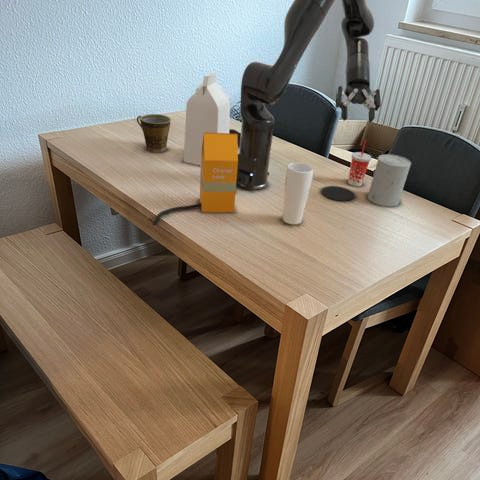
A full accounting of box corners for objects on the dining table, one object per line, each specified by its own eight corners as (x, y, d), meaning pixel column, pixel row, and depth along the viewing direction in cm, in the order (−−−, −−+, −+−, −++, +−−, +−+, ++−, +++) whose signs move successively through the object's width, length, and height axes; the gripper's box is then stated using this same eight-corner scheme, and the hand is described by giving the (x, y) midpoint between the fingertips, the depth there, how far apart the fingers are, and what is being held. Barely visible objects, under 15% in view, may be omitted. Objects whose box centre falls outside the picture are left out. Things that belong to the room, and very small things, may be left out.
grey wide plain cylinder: (363, 192, 149) (374, 153, 142) (392, 193, 150) (404, 155, 143) (372, 205, 142) (384, 165, 134) (403, 207, 143) (416, 167, 135)
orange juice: (233, 212, 131) (240, 139, 118) (201, 212, 129) (205, 137, 117) (229, 199, 137) (235, 128, 124) (199, 199, 135) (201, 127, 122)
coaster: (345, 204, 141) (345, 203, 141) (315, 193, 145) (316, 192, 145) (359, 194, 148) (359, 193, 147) (331, 184, 152) (331, 183, 152)
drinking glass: (306, 218, 132) (316, 165, 122) (300, 229, 127) (310, 174, 117) (283, 213, 133) (291, 160, 124) (276, 223, 128) (284, 169, 119)
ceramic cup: (176, 149, 164) (176, 119, 158) (157, 156, 157) (157, 125, 151) (148, 139, 169) (146, 110, 163) (128, 146, 162) (126, 116, 156)
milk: (216, 168, 154) (221, 81, 137) (183, 161, 156) (184, 74, 140) (228, 157, 163) (234, 73, 146) (197, 150, 165) (200, 67, 149)
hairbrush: (233, 122, 183) (272, 141, 167) (233, 132, 185) (271, 151, 169) (215, 125, 179) (252, 143, 163) (215, 135, 182) (252, 154, 165)
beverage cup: (365, 187, 152) (377, 143, 143) (346, 186, 152) (357, 141, 143) (362, 180, 157) (373, 137, 148) (344, 178, 157) (354, 135, 148)
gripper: (340, 63, 150) (340, 112, 148) (383, 67, 151) (384, 115, 150) (332, 78, 157) (333, 124, 156) (374, 81, 159) (375, 127, 157)
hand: (358, 120), depth 153 cm, fingers open, 8 cm apart
